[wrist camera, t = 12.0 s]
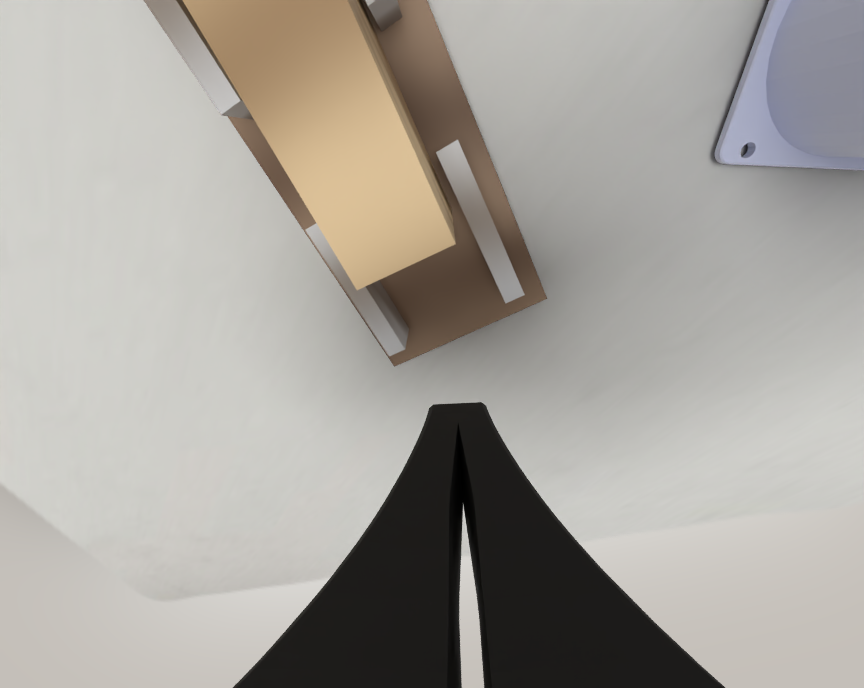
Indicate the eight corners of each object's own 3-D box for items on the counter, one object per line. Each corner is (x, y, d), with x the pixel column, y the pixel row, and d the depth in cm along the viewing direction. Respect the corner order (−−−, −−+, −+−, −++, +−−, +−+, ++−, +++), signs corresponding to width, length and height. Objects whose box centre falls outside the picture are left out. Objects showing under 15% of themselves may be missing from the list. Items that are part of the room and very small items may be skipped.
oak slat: (451, 209, 15) (455, 243, 9) (386, 241, 15) (357, 290, 10) (289, -167, 10) (123, -505, 5) (208, -97, 11) (-16, -329, 6)
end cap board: (541, 290, 17) (562, 321, 14) (396, 356, 19) (387, 396, 16) (326, -240, 10) (276, -408, 7) (130, -50, 12) (24, -117, 9)
